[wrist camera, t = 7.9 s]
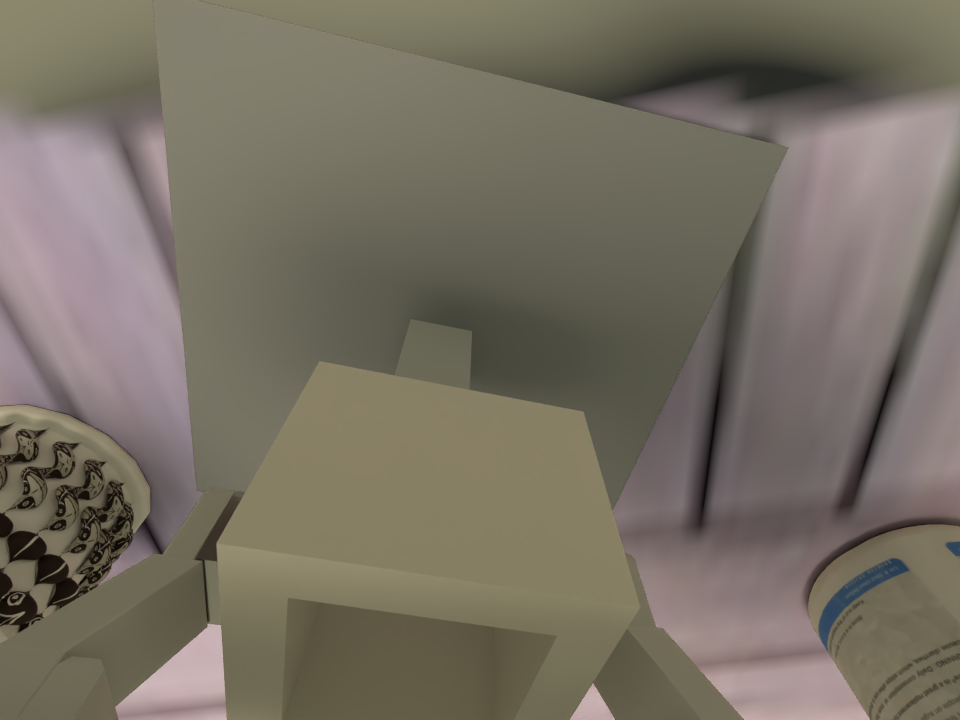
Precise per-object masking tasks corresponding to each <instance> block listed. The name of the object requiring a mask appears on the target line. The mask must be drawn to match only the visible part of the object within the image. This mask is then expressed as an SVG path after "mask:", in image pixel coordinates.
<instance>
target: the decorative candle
mask: <svg viewBox="0 0 960 720" xmlns="http://www.w3.org/2000/svg"><path fill="white" fill-rule="evenodd" d="M150 491H151V488H150V486H149V484H148V483H147V481H146V479H145V477H144V475H143V473H142V471H141V470H140V468H139V466H138V464H137V462H136V461H135V460H134V459H133V458H132V457H131V456H130V455H129V454H128V453H127V452H125V451H124V450H123V449H122V448H121V447H120V446H119V445H118V444H117V443H116V442H114V441H113V440H112V439H111V438H110V437H109V436H108V435H106V434H104V433H103V432H101V431H99V430H97V429H95V428H93V427H91V426H89V425H87V424H85V423H83V422H81V421H80V420H78V419H76V418H74V417H72V416H70V415H67V414H63V413H59V412H55V411H51V410H47V409H42V408H38V407H34V406H30V405H12V406H0V643H2V642H4V641H5V640H7V639H9V638H10V637H12V636H14V635H16V634H17V633H19V632H21V631H22V630H24V629H26V628H28V627H29V626H31V625H33V624H34V623H36V622H38V621H40V620H41V619H43V618H45V617H46V616H48V615H50V614H52V613H53V612H55V611H57V610H58V609H60V608H62V607H64V606H65V605H67V604H69V603H70V602H72V601H74V600H76V599H77V598H79V597H81V596H82V595H84V594H86V593H88V592H89V591H91V590H93V589H94V588H96V587H97V586H98V584H99V583H100V582H101V581H103V580H104V578H105V577H106V576H107V575H108V573H109V572H110V569H111V567H112V563H113V562H115V561H116V560H117V559H118V558H119V556H120V554H121V553H122V552H123V551H124V550H126V549H127V547H128V546H129V545H130V543H131V542H132V539H133V535H134V533H135V532H136V531H137V529H138V528H139V527H140V525H141V524H142V523H143V521H144V520H145V519H146V517H147V516H148V515H149V513H150ZM85 575H86V576H85ZM84 576H85V577H84ZM81 580H82V581H81Z"/></svg>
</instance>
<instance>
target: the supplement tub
mask: <svg viewBox="0 0 960 720" xmlns="http://www.w3.org/2000/svg"><path fill="white" fill-rule="evenodd" d="M808 612H809V617H810V620H811V623H812V625H813V627H814V629H815V631H816V633H817V634H818V636H819V638H820V639H821V641H822V643H823V644H824V646H825V648H826V649H827V651H828V652H829V654H830V656H831V657H832V659H833V660H834V662H835V664H836V665H837V667H838V669H839V670H840V672H841V673H842V675H843V677H844V678H845V680H846V681H847V683H848V685H849V686H850V688H851V690H852V691H853V693H854V694H855V696H856V698H857V699H858V701H859V702H860V704H861V706H862V707H863V709H864V710H865V712H866V714H867V715H868V717H869V719H870V720H960V526H953V525H943V524H939V525H919V526H912V527H906V528H901V529H897V530H893V531H890V532H887V533H884V534H881V535H879V536H876V537H873V538H871V539H869V540H867V541H865V542H863V543H862V544H860V545H858V546H857V547H855V548H853V549H851V550H849V551H847V552H845V553H844V554H842V555H841V556H839V557H838V558H836V559H835V560H834V561H833V562H832V563H831V564H829V565H828V566H827V567H826V569H825V570H824V571H823V572H822V573H821V574H820V576H819V577H818V578H817V580H816V582H815V584H814V585H813V588H812V590H811V593H810V596H809V601H808Z"/></svg>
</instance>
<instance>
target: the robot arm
mask: <svg viewBox="0 0 960 720" xmlns="http://www.w3.org/2000/svg"><path fill="white" fill-rule="evenodd" d="M244 494H245V492H241V491H235V490H229V489H223V488H218V487H212V486H211V487H210V488H209V489H208V490H207V491H205V492H204V493H203V495H202V496H201V498H200V499H199V501H198V502H197V504H196V505H195V507H194V508H193V510H192V511H191V513H190V514H189V516H188V517H187V519H186V520H185V522H184V523H183V525H182V526H181V528H180V529H179V531H178V532H177V534H176V535H175V537H174V538H173V540H172V541H171V543H170V544H169V546H168V547H167V549H166V550H165V552H164V553H163V555H160V554H153V555H151V556H149V557H148V558H146V559H144V560H143V561H141V562H139V563H137V564H136V565H134V566H132V567H131V568H129V569H127V570H125V571H124V572H122V573H120V574H119V575H117V576H115V577H113V578H112V579H110V580H108V581H106V582H105V583H103V584H101V585H100V586H98V587H96V588H94V589H93V590H91V591H89V592H88V593H86V594H84V595H82V596H81V597H79V598H77V599H76V600H74V601H72V602H70V603H69V604H67V605H65V606H64V607H62V608H60V609H58V610H57V611H55V612H53V613H52V614H50V615H48V616H46V617H45V618H43V619H41V620H40V621H38V622H36V623H34V624H33V625H31V626H29V627H28V628H26V629H24V630H22V631H21V632H19V633H17V634H16V635H14V636H12V637H10V638H9V639H7V640H5V641H4V642H2V643H0V720H118V716H117V712H116V709H115V706H117V705H118V704H119V703H120V702H121V701H122V700H124V699H125V698H126V697H127V696H128V695H129V694H130V693H132V692H133V691H134V690H135V689H136V688H137V687H139V686H140V685H141V684H142V683H143V682H144V681H145V680H147V679H148V678H149V677H150V676H151V675H152V674H154V673H155V672H156V671H157V670H158V669H159V668H160V667H162V666H163V665H164V664H165V663H166V662H167V661H168V660H170V659H171V658H172V657H173V656H174V655H175V654H177V653H178V652H179V651H180V650H181V649H182V648H183V647H185V646H186V645H187V644H188V643H189V642H190V641H192V640H193V639H194V638H195V637H196V636H197V635H198V634H200V633H201V632H202V631H203V630H204V629H205V628H207V626H208V625H207V624H217V625H221V612H220V595H219V578H218V562H217V545H216V543H217V541H218V540H219V538H220V536H221V534H222V533H223V531H224V529H225V527H226V526H227V524H228V522H229V520H230V518H231V517H232V515H233V513H234V511H235V510H236V508H237V506H238V504H239V503H240V501H241V499H242V497H243V496H244ZM625 556H626V559H627V563H628V566H629V570H630V573H631V576H632V580H633V583H634V587H635V590H636V594H637V597H638V600H639V604H640V609H639V610H638V612H637V614H636V615H635V617H634V618H633V620H632V622H631V623H630V625H629V626H628V628H627V629H626V631H625V633H624V634H623V636H622V637H621V639H620V641H619V642H618V644H617V645H616V647H615V648H614V650H613V652H612V653H611V655H610V656H609V658H608V660H607V661H606V663H605V664H604V666H603V667H602V669H601V671H600V672H599V674H598V675H597V677H596V679H595V680H594V682H593V683H594V685H595V687H596V688H597V690H598V692H599V693H600V695H601V696H602V698H603V700H604V701H605V703H606V705H607V706H608V708H609V710H610V711H611V713H612V715H613V716H614V718H615V720H744V719H743V718H742V717H741V716H740V715H739V714H738V712H737V711H736V710H735V709H734V708H733V707H732V706H731V705H730V703H729V702H728V701H727V700H726V699H725V698H724V697H723V696H722V694H721V693H720V692H719V691H718V690H717V689H716V688H715V687H714V685H713V684H712V683H711V682H710V681H709V680H708V679H707V678H706V676H705V675H704V674H703V673H702V672H701V671H700V670H699V669H698V667H697V666H696V665H695V664H694V663H693V662H692V661H691V660H690V658H689V657H688V656H687V655H686V654H685V653H684V652H683V651H682V649H681V648H680V647H679V646H678V645H677V644H676V643H675V642H674V640H673V639H672V638H671V637H670V636H669V635H668V634H667V633H666V631H665V630H664V629H662V628H657V627H656V626H655V622H654V619H653V616H652V613H651V610H650V607H649V603H648V600H647V597H646V594H645V591H644V588H643V585H642V581H641V578H640V575H639V572H638V569H637V566H636V563H635V559H634V558H633V557H632V556H631V555H630V554H625Z"/></svg>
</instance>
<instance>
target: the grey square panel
mask: <svg viewBox="0 0 960 720" xmlns="http://www.w3.org/2000/svg"><path fill="white" fill-rule="evenodd" d="M152 1H153V13H154V24H155V34H156V46H157V56H158V67H159V78H160V90H161V101H162V112H163V123H164V134H165V145H166V156H167V167H168V178H169V189H170V200H171V211H172V222H173V233H174V244H175V255H176V266H177V278H178V289H179V300H180V311H181V322H182V333H183V344H184V355H185V366H186V377H187V388H188V399H189V410H190V421H191V432H192V443H193V454H194V465H195V476H196V487H197V491H203V492H205V491H207V490H208V489H209V488H210V487H211V486H212V487H218V488H223V489H229V490H235V491H241V492H246V490H247V488H248V487H249V485H250V483H251V481H252V480H253V478H254V476H255V474H256V473H257V471H258V469H259V467H260V465H261V464H262V462H263V460H264V458H265V457H266V455H267V453H268V451H269V450H270V448H271V446H272V444H273V443H274V441H275V439H276V437H277V435H278V434H279V432H280V430H281V428H282V427H283V425H284V423H285V421H286V420H287V418H288V416H289V414H290V412H291V411H292V409H293V407H294V405H295V404H296V402H297V400H298V398H299V397H300V395H301V393H302V391H303V390H304V388H305V386H306V384H307V382H308V381H309V379H310V377H311V375H312V374H313V372H314V370H315V368H316V367H317V365H318V363H319V361H322V362H327V363H332V364H338V365H343V366H348V367H353V368H358V369H364V370H369V371H374V372H379V373H385V374H390V375H395V376H400V377H405V378H411V379H416V380H421V381H426V382H431V383H437V384H442V385H447V386H452V387H457V388H463V389H468V390H473V391H478V392H484V393H489V394H494V395H499V396H504V397H510V398H515V399H520V400H525V401H530V402H536V403H541V404H546V405H551V406H557V407H562V408H567V409H572V410H577V411H583V412H584V415H585V419H586V422H587V426H588V429H589V432H590V436H591V439H592V443H593V446H594V450H595V453H596V456H597V460H598V463H599V467H600V470H601V474H602V477H603V480H604V484H605V487H606V491H607V494H608V498H609V501H610V504H611V508H612V510H613V508H614V506H615V504H616V502H617V500H618V498H619V496H620V494H621V492H622V490H623V488H624V486H625V484H626V482H627V480H628V477H629V475H630V473H631V471H632V469H633V467H634V465H635V463H636V461H637V459H638V457H639V455H640V453H641V451H642V449H643V447H644V445H645V442H646V440H647V438H648V436H649V434H650V432H651V430H652V428H653V426H654V424H655V422H656V420H657V418H658V416H659V414H660V412H661V410H662V407H663V405H664V403H665V401H666V399H667V397H668V395H669V393H670V391H671V389H672V387H673V385H674V383H675V381H676V379H677V377H678V375H679V372H680V370H681V368H682V366H683V364H684V362H685V360H686V358H687V356H688V354H689V352H690V350H691V348H692V346H693V344H694V342H695V340H696V337H697V335H698V333H699V331H700V329H701V327H702V325H703V323H704V321H705V319H706V317H707V315H708V313H709V311H710V309H711V307H712V305H713V302H714V300H715V298H716V296H717V294H718V292H719V290H720V288H721V286H722V284H723V282H724V280H725V278H726V276H727V274H728V272H729V270H730V267H731V265H732V263H733V261H734V259H735V257H736V255H737V253H738V251H739V249H740V247H741V245H742V243H743V241H744V239H745V237H746V235H747V232H748V230H749V228H750V226H751V224H752V222H753V220H754V218H755V216H756V214H757V212H758V210H759V208H760V206H761V204H762V202H763V200H764V197H765V195H766V193H767V191H768V189H769V187H770V185H771V183H772V181H773V179H774V177H775V175H776V173H777V171H778V169H779V167H780V165H781V162H782V160H783V158H784V156H785V154H786V152H787V150H788V148H789V147H785V146H781V145H777V144H773V143H769V142H765V141H761V140H757V139H753V138H749V137H745V136H741V135H737V134H733V133H729V132H725V131H721V130H717V129H713V128H709V127H705V126H701V125H696V124H692V123H688V122H684V121H680V120H676V119H672V118H668V117H664V116H660V115H656V114H652V113H648V112H644V111H640V110H636V109H632V108H628V107H624V106H620V105H616V104H612V103H608V102H604V101H600V100H596V99H592V98H588V97H584V96H580V95H576V94H572V93H568V92H564V91H560V90H556V89H552V88H548V87H544V86H540V85H536V84H532V83H528V82H524V81H520V80H516V79H512V78H508V77H504V76H500V75H496V74H492V73H488V72H484V71H480V70H476V69H472V68H468V67H464V66H460V65H456V64H452V63H448V62H444V61H440V60H436V59H432V58H428V57H424V56H420V55H416V54H412V53H408V52H404V51H400V50H396V49H392V48H388V47H384V46H380V45H376V44H371V43H368V42H364V41H360V40H356V39H352V38H348V37H344V36H340V35H336V34H332V33H328V32H324V31H320V30H316V29H312V28H308V27H304V26H300V25H296V24H292V23H288V22H283V21H279V20H276V19H272V18H268V17H264V16H260V15H256V14H252V13H248V12H244V11H240V10H235V9H232V8H227V7H224V6H220V5H216V4H212V3H208V2H203V1H200V0H152Z"/></svg>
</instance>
